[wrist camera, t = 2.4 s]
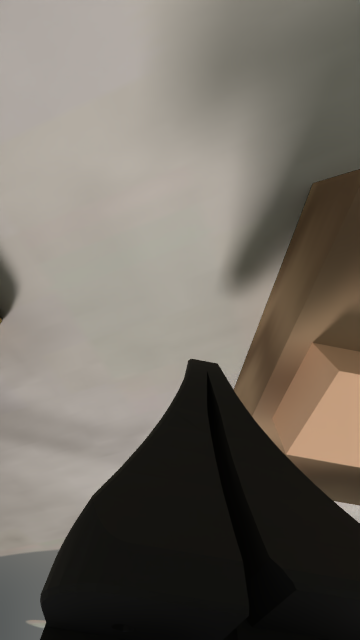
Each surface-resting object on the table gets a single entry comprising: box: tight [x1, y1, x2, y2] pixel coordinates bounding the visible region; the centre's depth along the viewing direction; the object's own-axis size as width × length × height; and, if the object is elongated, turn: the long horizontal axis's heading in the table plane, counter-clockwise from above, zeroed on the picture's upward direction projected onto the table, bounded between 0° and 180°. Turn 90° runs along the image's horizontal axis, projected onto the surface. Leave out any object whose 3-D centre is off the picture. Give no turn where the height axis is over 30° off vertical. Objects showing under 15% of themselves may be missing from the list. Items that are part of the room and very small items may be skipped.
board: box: [234, 169, 360, 505], centre depth 13 cm, size 18×12×4 cm, turn 170°
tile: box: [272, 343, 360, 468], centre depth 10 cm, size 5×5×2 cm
